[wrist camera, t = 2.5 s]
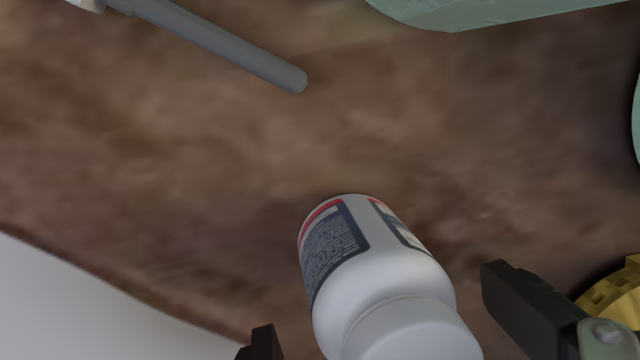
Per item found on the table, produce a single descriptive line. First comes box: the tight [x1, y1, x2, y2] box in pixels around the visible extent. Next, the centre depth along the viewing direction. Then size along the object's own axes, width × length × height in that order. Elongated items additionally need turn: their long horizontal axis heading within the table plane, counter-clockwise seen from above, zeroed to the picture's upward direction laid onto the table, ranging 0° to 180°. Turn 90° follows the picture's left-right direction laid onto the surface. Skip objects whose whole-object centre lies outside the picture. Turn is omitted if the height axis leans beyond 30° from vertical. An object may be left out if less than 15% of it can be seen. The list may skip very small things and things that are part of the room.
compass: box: [574, 254, 640, 331], centre depth 22 cm, size 12×12×2 cm
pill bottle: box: [298, 194, 484, 360], centre depth 14 cm, size 5×5×9 cm
